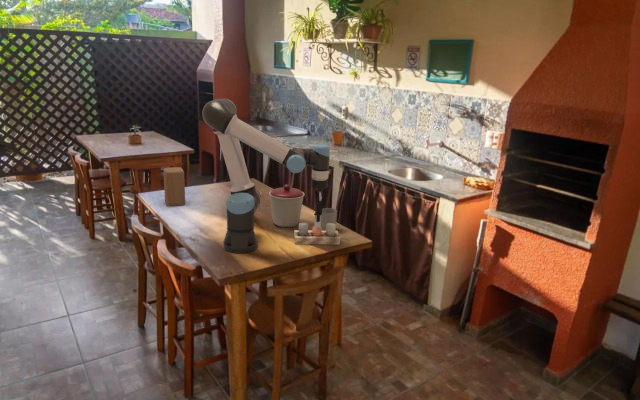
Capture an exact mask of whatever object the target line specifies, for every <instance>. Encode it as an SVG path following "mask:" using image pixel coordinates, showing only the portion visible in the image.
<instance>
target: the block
mask: <svg viewBox="0 0 640 400" xmlns="http://www.w3.org/2000/svg"><path fill="white" fill-rule="evenodd" d="M185 181H186V179H185V171H184V169H183V168H182V167H180V166H177V167H165V168H163V185H164V187H163V188H164V202H165V204H166V206H167V207H173V206H184V205H186V189H185V188H186V187H185V184H186V183H185Z"/></svg>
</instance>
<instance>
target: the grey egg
mask: <svg viewBox="0 0 640 400" xmlns="http://www.w3.org/2000/svg"><path fill="white" fill-rule="evenodd" d="M298 230H299V235H301V236H306V235H308V230H309V223H308V222H298Z"/></svg>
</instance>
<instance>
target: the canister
mask: <svg viewBox="0 0 640 400" xmlns="http://www.w3.org/2000/svg"><path fill="white" fill-rule="evenodd" d="M268 196H270V198H269V199H270V209H271V217H272V222H273V224H274V225H276V226H278V227H281V228H290V227H296V226H297V225H299V223H300V218H301V214H302V207H303V201H304V197H305V192H304V191H302V190H300V189H298V188H294V187H291V185H290V184H284V185H283V187H277V188H273V189H272V190H270V191H269V192H268Z"/></svg>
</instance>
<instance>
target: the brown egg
mask: <svg viewBox="0 0 640 400" xmlns="http://www.w3.org/2000/svg"><path fill="white" fill-rule="evenodd" d="M311 230H312V236H321V235H322V227H320V228H315V227H314V226H312V229H311Z"/></svg>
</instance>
